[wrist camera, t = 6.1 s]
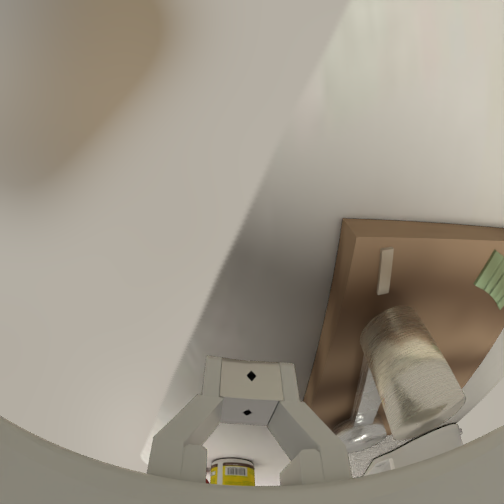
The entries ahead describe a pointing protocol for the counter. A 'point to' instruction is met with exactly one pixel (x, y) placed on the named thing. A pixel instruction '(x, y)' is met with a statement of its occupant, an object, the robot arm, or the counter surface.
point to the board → (407, 300)
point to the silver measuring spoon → (399, 382)
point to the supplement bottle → (232, 472)
